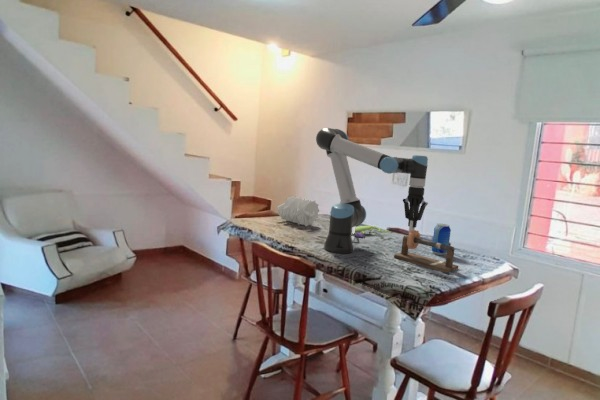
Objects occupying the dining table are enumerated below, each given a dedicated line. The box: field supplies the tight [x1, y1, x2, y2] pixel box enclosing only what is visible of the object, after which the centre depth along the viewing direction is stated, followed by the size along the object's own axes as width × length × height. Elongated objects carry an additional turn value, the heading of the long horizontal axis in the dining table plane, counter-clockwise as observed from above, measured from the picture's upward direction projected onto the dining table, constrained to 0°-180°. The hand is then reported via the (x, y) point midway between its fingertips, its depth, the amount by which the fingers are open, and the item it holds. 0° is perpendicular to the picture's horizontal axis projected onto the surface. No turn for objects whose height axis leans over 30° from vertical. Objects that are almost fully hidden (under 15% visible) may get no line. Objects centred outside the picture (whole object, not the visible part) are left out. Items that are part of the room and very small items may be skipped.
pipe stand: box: [393, 234, 459, 274], centre depth 210 cm, size 12×28×11 cm, turn 45°
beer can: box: [431, 223, 452, 256], centre depth 232 cm, size 8×8×16 cm
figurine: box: [354, 225, 390, 238], centre depth 266 cm, size 18×27×6 cm
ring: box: [407, 229, 421, 250], centre depth 215 cm, size 9×2×9 cm, turn 135°
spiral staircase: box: [276, 195, 320, 227], centre depth 282 cm, size 18×18×25 cm
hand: (411, 233), depth 215 cm, fingers closed
